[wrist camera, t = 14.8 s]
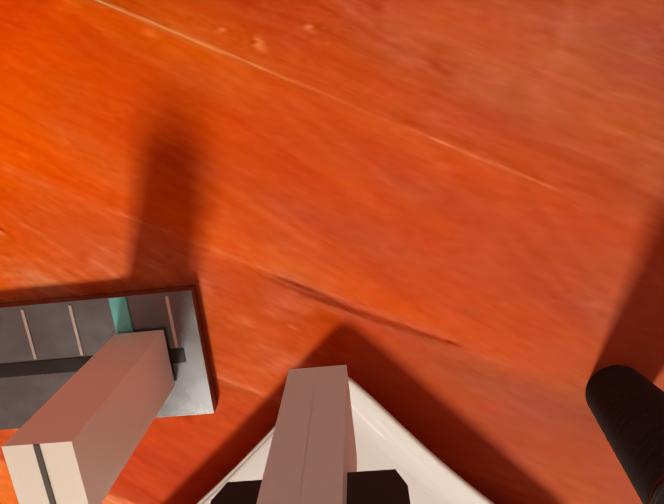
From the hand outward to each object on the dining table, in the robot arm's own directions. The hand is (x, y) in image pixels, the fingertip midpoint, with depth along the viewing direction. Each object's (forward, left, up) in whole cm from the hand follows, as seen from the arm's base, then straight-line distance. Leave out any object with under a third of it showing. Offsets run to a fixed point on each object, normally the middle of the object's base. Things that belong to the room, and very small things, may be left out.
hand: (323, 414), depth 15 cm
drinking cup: (+25, +11, -30) cm, 40 cm away
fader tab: (+2, -20, -28) cm, 35 cm away
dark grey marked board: (-1, -28, -29) cm, 41 cm away
